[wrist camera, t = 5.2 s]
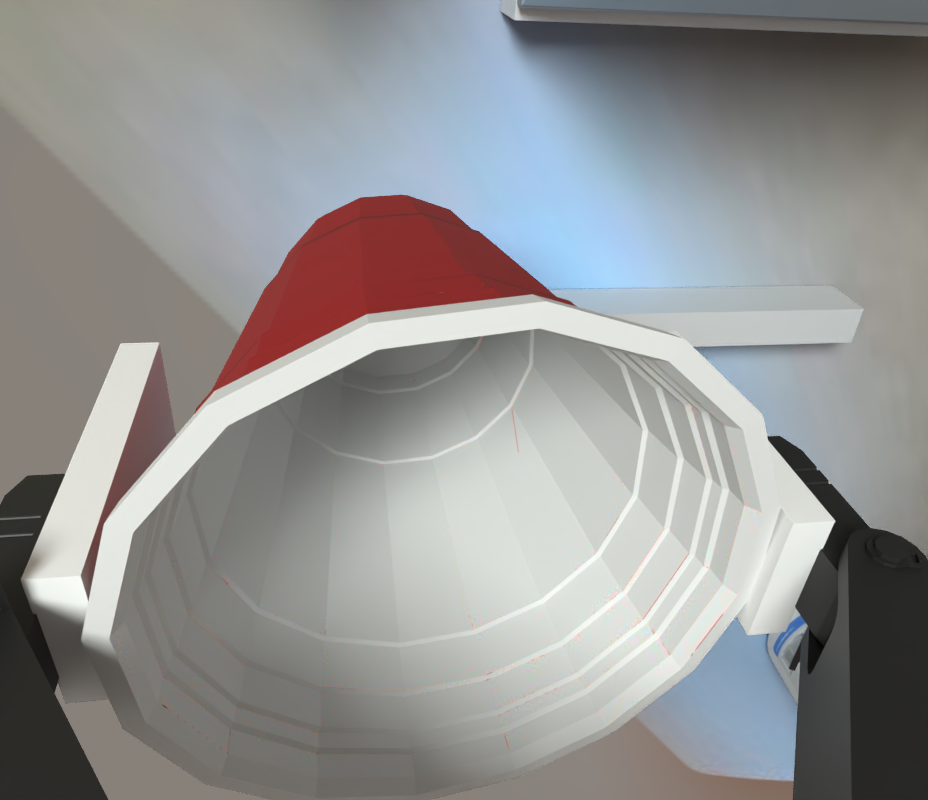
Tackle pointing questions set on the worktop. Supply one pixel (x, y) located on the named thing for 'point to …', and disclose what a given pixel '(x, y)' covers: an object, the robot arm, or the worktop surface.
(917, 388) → the worktop surface
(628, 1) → the door
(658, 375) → the plastic cup
